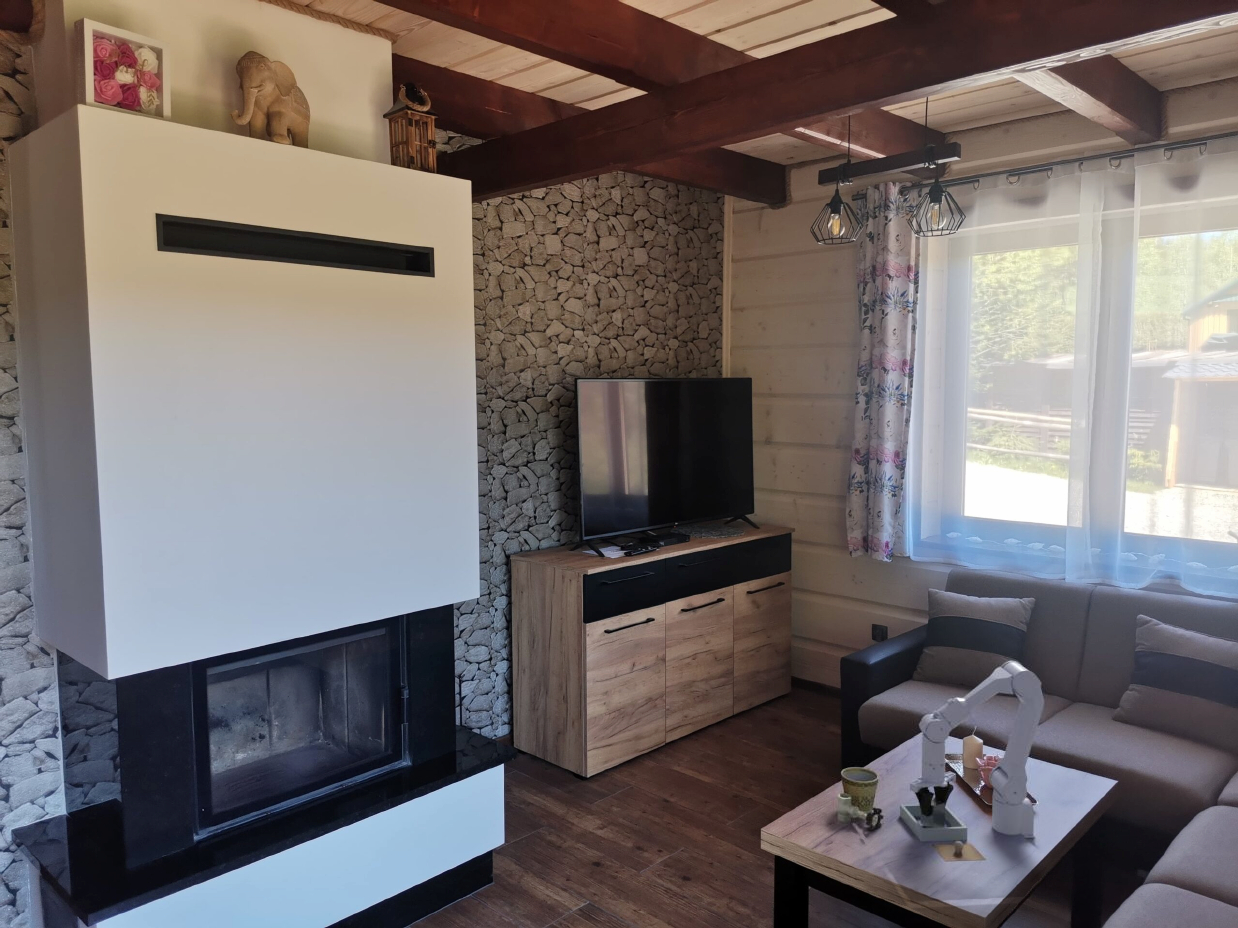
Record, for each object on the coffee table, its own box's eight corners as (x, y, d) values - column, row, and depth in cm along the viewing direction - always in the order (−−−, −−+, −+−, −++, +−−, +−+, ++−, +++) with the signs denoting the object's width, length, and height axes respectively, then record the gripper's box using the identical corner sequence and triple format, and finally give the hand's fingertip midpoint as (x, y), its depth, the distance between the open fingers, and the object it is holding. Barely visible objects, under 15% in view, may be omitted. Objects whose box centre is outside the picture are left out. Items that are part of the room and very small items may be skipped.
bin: (943, 817, 235) (943, 803, 235) (967, 843, 221) (967, 827, 221) (899, 819, 234) (900, 804, 234) (920, 844, 220) (921, 829, 220)
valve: (830, 820, 234) (869, 836, 225) (830, 796, 234) (869, 812, 225) (845, 813, 238) (883, 828, 229) (845, 789, 238) (883, 804, 229)
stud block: (970, 846, 219) (970, 832, 219) (985, 863, 211) (986, 848, 211) (931, 848, 218) (932, 834, 218) (945, 865, 211) (945, 850, 210)
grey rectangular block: (932, 820, 230) (932, 796, 230) (944, 826, 227) (945, 802, 226) (920, 823, 229) (921, 799, 228) (932, 830, 225) (933, 805, 224)
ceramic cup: (870, 821, 233) (870, 785, 233) (834, 811, 239) (835, 775, 239) (887, 803, 244) (887, 768, 243) (853, 794, 250) (853, 760, 249)
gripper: (924, 772, 220) (924, 825, 221) (965, 761, 226) (964, 812, 227) (904, 762, 226) (903, 813, 227) (944, 752, 233) (943, 801, 233)
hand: (932, 812), depth 227 cm, fingers open, 5 cm apart
